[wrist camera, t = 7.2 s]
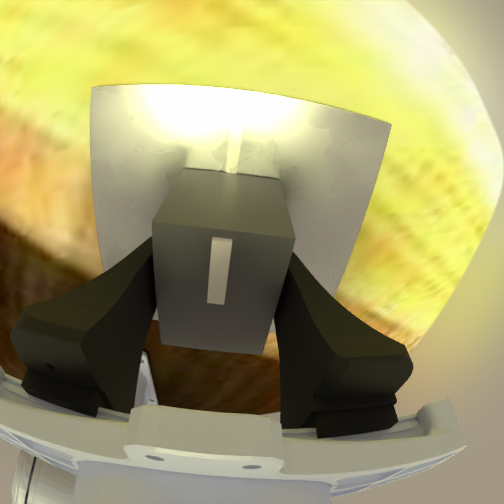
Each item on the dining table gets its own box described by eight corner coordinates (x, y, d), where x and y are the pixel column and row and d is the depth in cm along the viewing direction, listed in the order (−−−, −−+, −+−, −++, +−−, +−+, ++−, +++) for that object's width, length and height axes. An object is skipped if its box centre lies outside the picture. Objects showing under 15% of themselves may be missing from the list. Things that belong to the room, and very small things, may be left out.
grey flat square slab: (316, 329, 19) (325, 369, 17) (114, 308, 18) (98, 346, 15) (388, 122, 12) (425, 138, 9) (95, 86, 10) (55, 93, 8)
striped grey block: (258, 281, 16) (261, 358, 12) (180, 272, 16) (160, 347, 12) (279, 180, 13) (297, 242, 9) (183, 168, 13) (149, 224, 8)
